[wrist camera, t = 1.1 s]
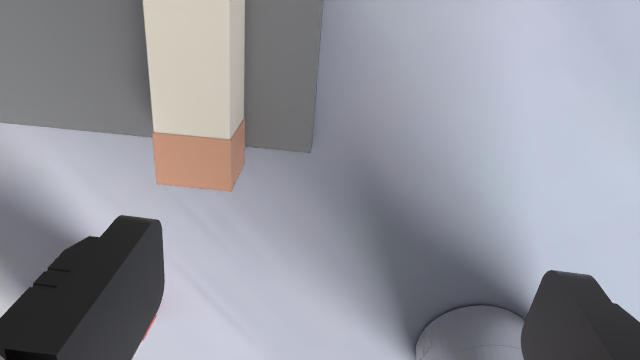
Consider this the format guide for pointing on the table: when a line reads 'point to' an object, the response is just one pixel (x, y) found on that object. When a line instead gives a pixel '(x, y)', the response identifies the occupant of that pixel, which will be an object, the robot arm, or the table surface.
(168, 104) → the latch bar
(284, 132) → the base plate
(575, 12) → the table surface
